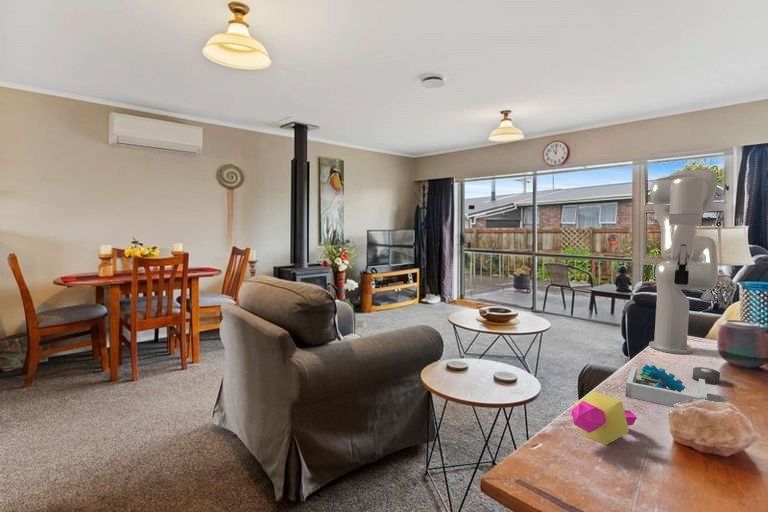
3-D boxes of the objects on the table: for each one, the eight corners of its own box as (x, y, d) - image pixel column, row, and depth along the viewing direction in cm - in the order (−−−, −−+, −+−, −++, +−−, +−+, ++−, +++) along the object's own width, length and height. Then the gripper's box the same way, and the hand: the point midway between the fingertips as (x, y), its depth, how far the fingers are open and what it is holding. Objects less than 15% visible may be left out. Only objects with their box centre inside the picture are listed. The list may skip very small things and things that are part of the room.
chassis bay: (631, 378, 116) (632, 366, 116) (703, 392, 107) (704, 379, 106) (625, 396, 104) (626, 383, 104) (706, 413, 94) (707, 399, 94)
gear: (694, 392, 103) (671, 366, 101) (683, 410, 101) (659, 385, 100) (655, 381, 113) (633, 358, 112) (644, 398, 112) (622, 375, 111)
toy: (653, 444, 83) (639, 391, 87) (611, 445, 73) (597, 385, 77) (604, 444, 90) (593, 396, 94) (559, 445, 80) (550, 390, 84)
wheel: (692, 374, 119) (693, 365, 119) (718, 379, 116) (719, 369, 115) (692, 381, 114) (693, 370, 114) (720, 386, 111) (720, 375, 111)
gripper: (669, 221, 124) (666, 280, 125) (668, 220, 112) (664, 286, 113) (700, 221, 120) (696, 282, 121) (702, 220, 108) (698, 288, 109)
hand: (681, 284), depth 117 cm, fingers closed
